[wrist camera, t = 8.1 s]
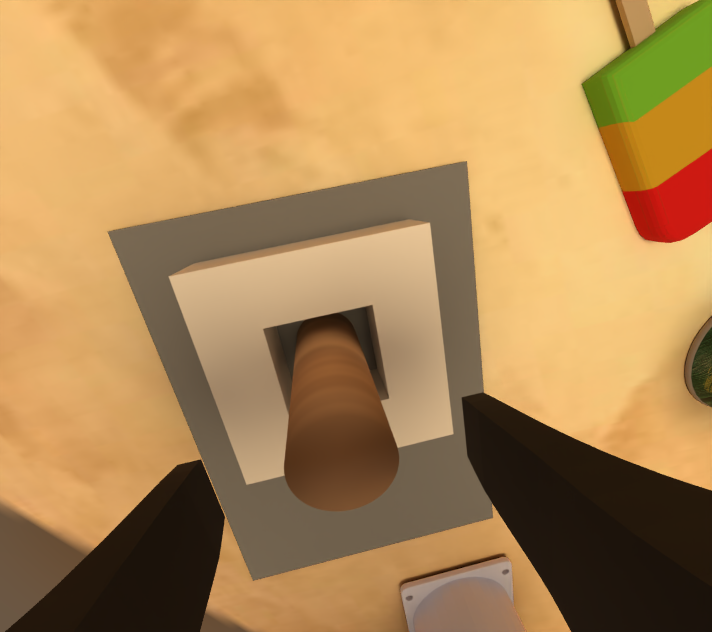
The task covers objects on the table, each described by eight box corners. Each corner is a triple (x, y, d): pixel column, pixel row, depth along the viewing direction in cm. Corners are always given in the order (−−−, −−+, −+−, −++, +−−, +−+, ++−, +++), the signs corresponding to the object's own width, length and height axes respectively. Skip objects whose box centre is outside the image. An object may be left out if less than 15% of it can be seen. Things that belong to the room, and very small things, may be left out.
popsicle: (636, 250, 19) (670, 254, 17) (520, -47, 14) (551, -83, 12) (726, 188, 19) (771, 186, 17) (638, -140, 14) (687, -192, 12)
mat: (490, 514, 23) (492, 517, 23) (253, 575, 22) (253, 580, 22) (464, 161, 16) (466, 161, 16) (111, 231, 15) (107, 231, 15)
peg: (361, 358, 18) (406, 495, 10) (304, 371, 18) (299, 523, 9) (350, 304, 17) (389, 403, 9) (290, 318, 17) (270, 432, 8)
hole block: (432, 400, 19) (453, 433, 17) (256, 442, 19) (246, 484, 16) (408, 219, 16) (429, 222, 13) (194, 263, 16) (168, 276, 13)
